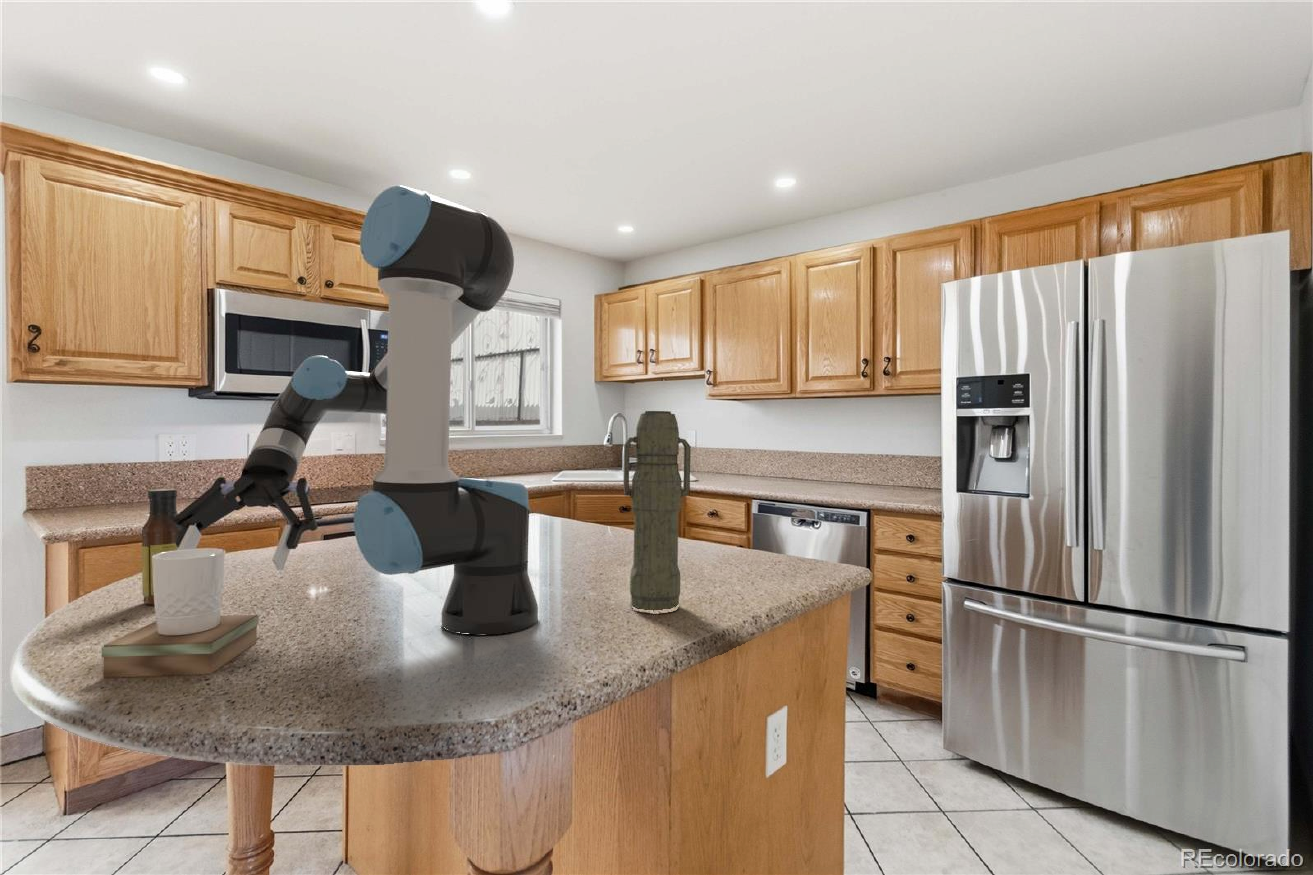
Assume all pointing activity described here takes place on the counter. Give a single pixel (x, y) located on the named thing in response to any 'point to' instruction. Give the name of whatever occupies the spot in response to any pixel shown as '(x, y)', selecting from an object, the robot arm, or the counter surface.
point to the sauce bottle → (158, 535)
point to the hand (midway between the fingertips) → (228, 566)
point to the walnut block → (179, 649)
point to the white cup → (188, 590)
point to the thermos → (656, 509)
